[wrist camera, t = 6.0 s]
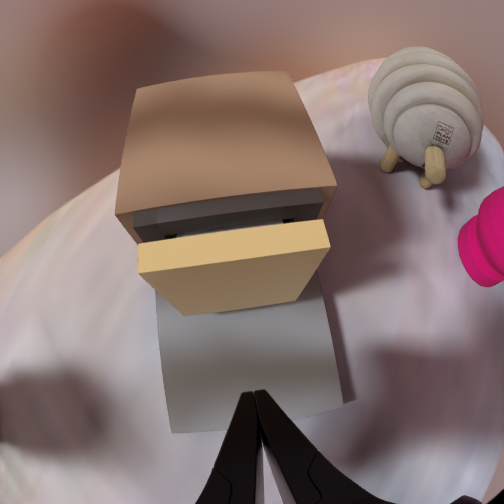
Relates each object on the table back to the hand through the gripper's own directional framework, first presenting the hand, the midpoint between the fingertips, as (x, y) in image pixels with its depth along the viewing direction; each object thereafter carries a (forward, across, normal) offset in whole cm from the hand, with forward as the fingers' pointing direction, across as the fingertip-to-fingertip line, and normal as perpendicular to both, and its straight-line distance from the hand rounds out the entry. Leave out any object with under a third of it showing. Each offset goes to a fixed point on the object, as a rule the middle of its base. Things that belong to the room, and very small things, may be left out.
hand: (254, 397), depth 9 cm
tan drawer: (+10, 0, -4) cm, 11 cm away
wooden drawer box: (+10, 0, 0) cm, 10 cm away
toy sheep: (+17, -17, -7) cm, 25 cm away
